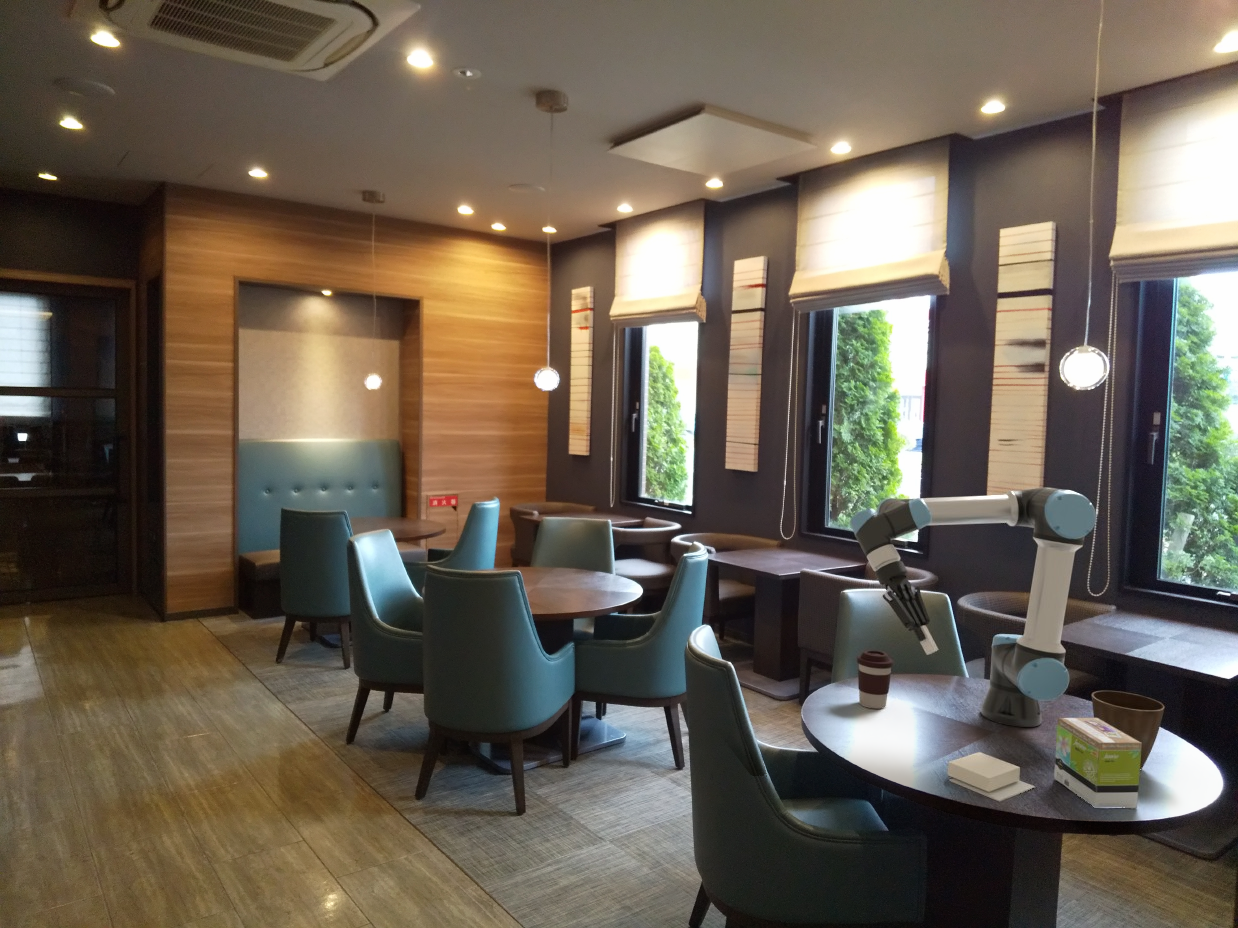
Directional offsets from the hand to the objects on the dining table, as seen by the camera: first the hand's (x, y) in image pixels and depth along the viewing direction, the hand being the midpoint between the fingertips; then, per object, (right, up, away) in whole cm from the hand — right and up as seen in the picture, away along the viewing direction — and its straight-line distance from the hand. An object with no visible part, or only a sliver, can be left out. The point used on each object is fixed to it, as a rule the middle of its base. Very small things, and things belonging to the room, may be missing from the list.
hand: (932, 652), depth 206 cm
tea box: (+28, -27, -21) cm, 44 cm away
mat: (+7, -26, -18) cm, 32 cm away
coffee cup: (-5, -23, +34) cm, 41 cm away
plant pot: (+44, -27, -4) cm, 52 cm away
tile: (+3, -23, -12) cm, 26 cm away
